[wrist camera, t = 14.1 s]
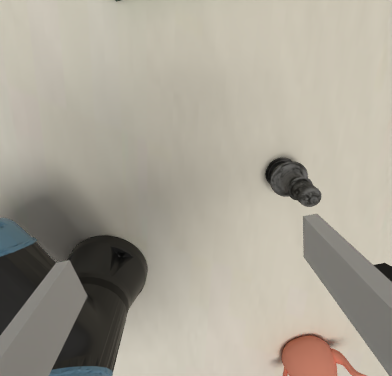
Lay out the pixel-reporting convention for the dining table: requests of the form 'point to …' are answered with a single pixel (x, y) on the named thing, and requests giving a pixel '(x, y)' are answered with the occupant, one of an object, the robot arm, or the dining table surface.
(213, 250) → the dining table surface
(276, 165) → the salt shaker
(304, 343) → the teapot
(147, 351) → the dining table surface
